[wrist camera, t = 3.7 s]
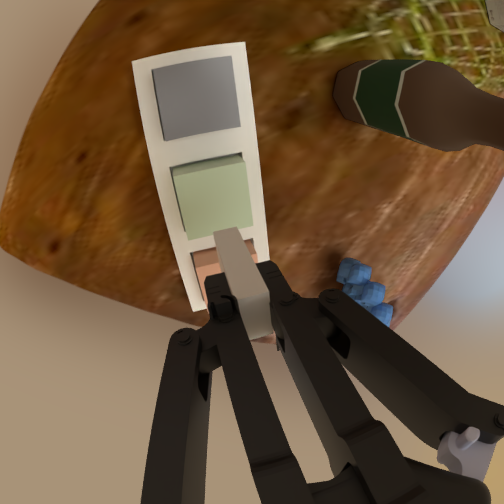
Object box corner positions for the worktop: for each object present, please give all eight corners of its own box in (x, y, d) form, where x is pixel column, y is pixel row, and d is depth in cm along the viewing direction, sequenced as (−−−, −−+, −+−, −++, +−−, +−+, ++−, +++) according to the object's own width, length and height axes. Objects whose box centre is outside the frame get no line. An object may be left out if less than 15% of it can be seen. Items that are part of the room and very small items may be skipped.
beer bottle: (316, 97, 27) (543, 159, 7) (352, 47, 24) (567, 62, 4) (364, 138, 30) (550, 234, 10) (395, 91, 28) (581, 149, 8)
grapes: (303, 254, 37) (349, 318, 27) (348, 230, 36) (404, 283, 26) (325, 309, 43) (362, 368, 33) (362, 288, 43) (405, 341, 33)
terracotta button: (192, 251, 30) (195, 268, 27) (249, 238, 30) (257, 253, 28) (204, 295, 33) (208, 313, 30) (255, 283, 34) (262, 299, 31)
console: (136, 64, 21) (131, 61, 18) (237, 47, 22) (244, 41, 20) (191, 295, 35) (193, 311, 33) (265, 277, 37) (272, 292, 34)
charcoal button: (155, 72, 20) (152, 69, 17) (225, 60, 21) (231, 55, 18) (166, 136, 23) (165, 141, 21) (233, 123, 24) (240, 126, 22)
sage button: (173, 167, 25) (172, 176, 22) (238, 154, 26) (245, 161, 23) (186, 226, 28) (188, 240, 25) (245, 212, 29) (253, 225, 26)
